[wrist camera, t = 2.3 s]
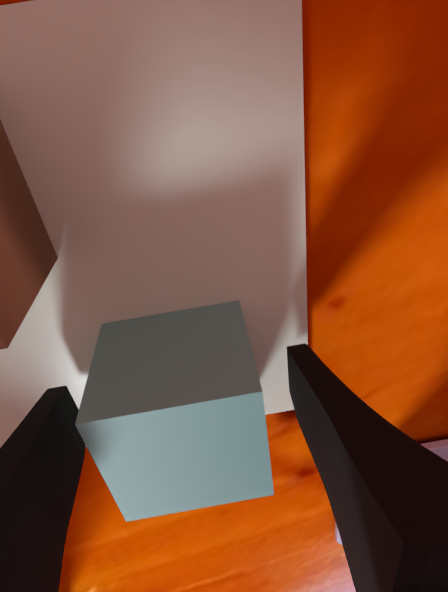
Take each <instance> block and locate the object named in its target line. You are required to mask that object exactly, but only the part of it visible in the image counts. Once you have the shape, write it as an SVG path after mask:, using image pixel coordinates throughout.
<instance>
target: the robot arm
mask: <svg viewBox="0 0 448 592" xmlns="http://www.w3.org/2000/svg"><path fill="white" fill-rule="evenodd" d="M287 361H288V379H289V392H290V395H291V399H292V403H293V406H294V410H295V413H296V417H297V420H298V422H299V425H300V427H301V430H302V432H303V435H304V437H305V440H306V442H307V445H308V447H309V449H310V452H311V454H312V457H313V459H314V462H315V464H316V467H317V469H318V472H319V474H320V476H321V479H322V481H323V484H324V487H325V489H326V492H327V495H328V498H329V501H330V505H331V508H332V511H333V514H334V518H335V521H336V523H335V538H336V541H337V543H339V544H342V545H343V548H344V551H345V555H346V558H347V561H348V565H349V568H350V572H351V575H352V579H353V582H354V586H355V590H356V592H448V439H444V440H439V441H433V442H428V443H422V444H419V443H417V442H416V441H414V440H413V439H412V438H410V437H409V436H407V435H406V434H404V433H403V432H402V431H400V430H399V429H397V428H396V427H395V426H393V425H392V424H391V423H389V422H388V421H387V420H385V419H384V418H383V417H382V416H380V415H379V414H378V413H377V412H375V411H374V410H373V409H372V408H370V407H369V406H368V405H367V404H366V403H365V402H363V401H362V400H361V399H360V398H359V397H358V396H357V395H356V394H354V393H353V392H352V391H351V390H350V389H349V388H348V387H347V386H346V385H345V384H344V383H343V382H342V381H341V380H340V379H339V378H338V377H337V376H336V375H335V374H334V373H333V372H332V371H331V370H330V369H329V368H328V367H327V366H326V365H325V364H324V363H323V362H322V361H321V360H320V358H319V357H318V356H317V355H316V354H315V353H314V352H313V350H312V349H311V348H310V347H309V346H308V345H307V344H305V343H304V344H299V345H293V346H287ZM78 411H79V409H78V407H77V405H76V403H75V402H74V400H73V398H72V396H71V394H70V392H69V390H68V388H67V386H60V387H54V388H49V389H47V390H46V391H45V392H44V394H43V395H42V396H41V397H40V399H39V400H38V401H37V402H36V404H35V405H34V406H33V408H32V409H31V410H30V411H29V413H28V414H27V415H26V417H25V418H24V419H23V420H22V422H21V423H20V424H19V425H18V427H17V428H16V429H15V430H14V432H13V433H12V434H11V435H10V437H9V438H8V439H7V440H6V442H5V443H4V444H3V445H2V446H1V448H0V592H58V591H59V582H60V574H61V567H62V559H63V552H64V545H65V540H66V535H67V529H68V525H69V521H70V517H71V512H72V508H73V504H74V500H75V495H76V491H77V487H78V483H79V478H80V474H81V469H82V465H83V460H84V454H85V446H86V444H85V443H84V441H83V439H82V437H81V435H80V433H79V431H78V429H77V427H76V425H75V423H76V419H77V415H78Z"/></svg>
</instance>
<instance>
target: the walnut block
mask: <svg viewBox="0 0 448 592" xmlns="http://www.w3.org/2000/svg"><path fill="white" fill-rule="evenodd" d="M57 259H58V257H57V255H56V252H55V250H54V247H53V245H52V243H51V240H50V238H49V235H48V233H47V230H46V228H45V226H44V223H43V221H42V218H41V216H40V214H39V211H38V209H37V206H36V204H35V202H34V199H33V197H32V194H31V192H30V189H29V187H28V185H27V182H26V180H25V177H24V175H23V173H22V170H21V168H20V165H19V163H18V161H17V158H16V156H15V153H14V151H13V148H12V146H11V144H10V141H9V139H8V136H7V134H6V132H5V129H4V127H3V124H2V122H1V120H0V350H1V349H6V348H8V347H9V345H10V343H11V341H12V340H13V338H14V336H15V334H16V332H17V331H18V329H19V327H20V325H21V324H22V322H23V320H24V318H25V316H26V315H27V313H28V311H29V309H30V307H31V306H32V304H33V302H34V300H35V298H36V297H37V295H38V293H39V291H40V289H41V288H42V286H43V284H44V282H45V280H46V279H47V277H48V275H49V273H50V271H51V270H52V268H53V266H54V264H55V263H56V261H57Z"/></svg>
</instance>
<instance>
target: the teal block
mask: <svg viewBox="0 0 448 592" xmlns="http://www.w3.org/2000/svg"><path fill="white" fill-rule="evenodd" d="M75 425H76V427H77V429H78V431H79V433H80V435H81V437H82V439H83V441H84V443H85V444H86V446H87V448H88V450H89V452H90V454H91V456H92V458H93V460H94V461H95V463H96V465H97V467H98V469H99V471H100V473H101V475H102V477H103V478H104V480H105V482H106V484H107V486H108V488H109V490H110V492H111V494H112V496H113V497H114V499H115V501H116V503H117V505H118V507H119V509H120V511H121V513H122V514H123V516H124V518H125V520H126V522H128V521H133V520H139V519H144V518H150V517H155V516H161V515H166V514H172V513H177V512H183V511H188V510H194V509H199V508H205V507H210V506H216V505H221V504H227V503H232V502H238V501H243V500H249V499H254V498H260V497H265V496H271V495H274V490H273V481H272V472H271V463H270V454H269V445H268V436H267V427H266V418H265V409H264V401H263V392H262V388H261V384H260V380H259V376H258V372H257V368H256V364H255V360H254V357H253V353H252V349H251V345H250V341H249V337H248V333H247V329H246V326H245V322H244V318H243V314H242V310H241V306H240V302H239V300H237V301H231V302H225V303H220V304H214V305H208V306H202V307H196V308H190V309H185V310H179V311H173V312H167V313H161V314H156V315H150V316H144V317H138V318H132V319H126V320H121V321H115V322H109V323H103V324H101V328H100V332H99V336H98V340H97V343H96V347H95V351H94V355H93V358H92V362H91V366H90V370H89V374H88V377H87V381H86V385H85V389H84V392H83V396H82V400H81V404H80V408H79V411H78V415H77V419H76V423H75Z"/></svg>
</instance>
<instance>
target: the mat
mask: <svg viewBox="0 0 448 592" xmlns="http://www.w3.org/2000/svg"><path fill="white" fill-rule="evenodd" d="M0 120H1V122H2V124H3V127H4V129H5V132H6V134H7V136H8V139H9V141H10V144H11V146H12V148H13V151H14V153H15V156H16V158H17V161H18V163H19V165H20V168H21V170H22V173H23V175H24V177H25V180H26V182H27V185H28V187H29V189H30V192H31V194H32V197H33V199H34V202H35V204H36V206H37V209H38V211H39V214H40V216H41V218H42V221H43V223H44V226H45V228H46V230H47V233H48V235H49V238H50V240H51V243H52V245H53V247H54V250H55V252H56V255H57V257H58V259H57V261H56V263H55V264H54V266H53V268H52V270H51V271H50V273H49V275H48V277H47V279H46V280H45V282H44V284H43V286H42V288H41V289H40V291H39V293H38V295H37V297H36V298H35V300H34V302H33V304H32V306H31V307H30V309H29V311H28V313H27V315H26V316H25V318H24V320H23V322H22V324H21V325H20V327H19V329H18V331H17V332H16V334H15V336H14V338H13V340H12V341H11V343H10V345H9V347H8V348H6V349H1V350H0V448H1V446H2V445H3V444H4V443H5V442H6V440H7V439H8V438H9V437H10V435H11V434H12V433H13V432H14V430H15V429H16V428H17V427H18V425H19V424H20V423H21V422H22V420H23V419H24V418H25V417H26V415H27V414H28V413H29V411H30V410H31V409H32V408H33V406H34V405H35V404H36V402H37V401H38V400H39V399H40V397H41V396H42V395H43V394H44V392H45V391H46V390H47V389H49V388H54V387H60V386H67V388H68V390H69V392H70V394H71V396H72V398H73V400H74V402H75V403H76V405H77V407H78V409H79V408H80V404H81V400H82V396H83V392H84V389H85V385H86V381H87V377H88V374H89V370H90V366H91V362H92V358H93V355H94V351H95V347H96V343H97V340H98V336H99V332H100V328H101V324H103V323H109V322H115V321H121V320H126V319H132V318H138V317H144V316H150V315H156V314H161V313H167V312H173V311H179V310H185V309H190V308H196V307H202V306H208V305H214V304H220V303H225V302H231V301H237V300H239V302H240V306H241V310H242V314H243V318H244V322H245V326H246V329H247V333H248V337H249V341H250V345H251V349H252V353H253V357H254V360H255V364H256V368H257V372H258V376H259V380H260V384H261V388H262V392H263V401H264V409H265V415H266V414H272V413H278V412H283V411H289V410H294V406H293V403H292V399H291V395H290V392H289V379H288V361H287V346H293V345H299V344H304V343H305V344H307V345H308V322H307V266H306V209H305V153H304V96H303V40H302V0H32V1H26V2H19V3H13V4H7V5H0ZM85 447H87V446H85Z"/></svg>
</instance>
